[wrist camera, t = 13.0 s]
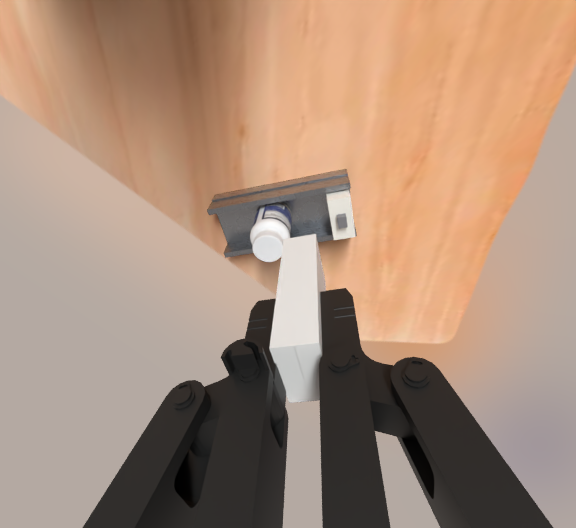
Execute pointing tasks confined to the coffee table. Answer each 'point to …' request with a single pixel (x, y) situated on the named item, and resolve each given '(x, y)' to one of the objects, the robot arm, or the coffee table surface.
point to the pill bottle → (270, 231)
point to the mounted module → (341, 214)
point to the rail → (294, 193)
